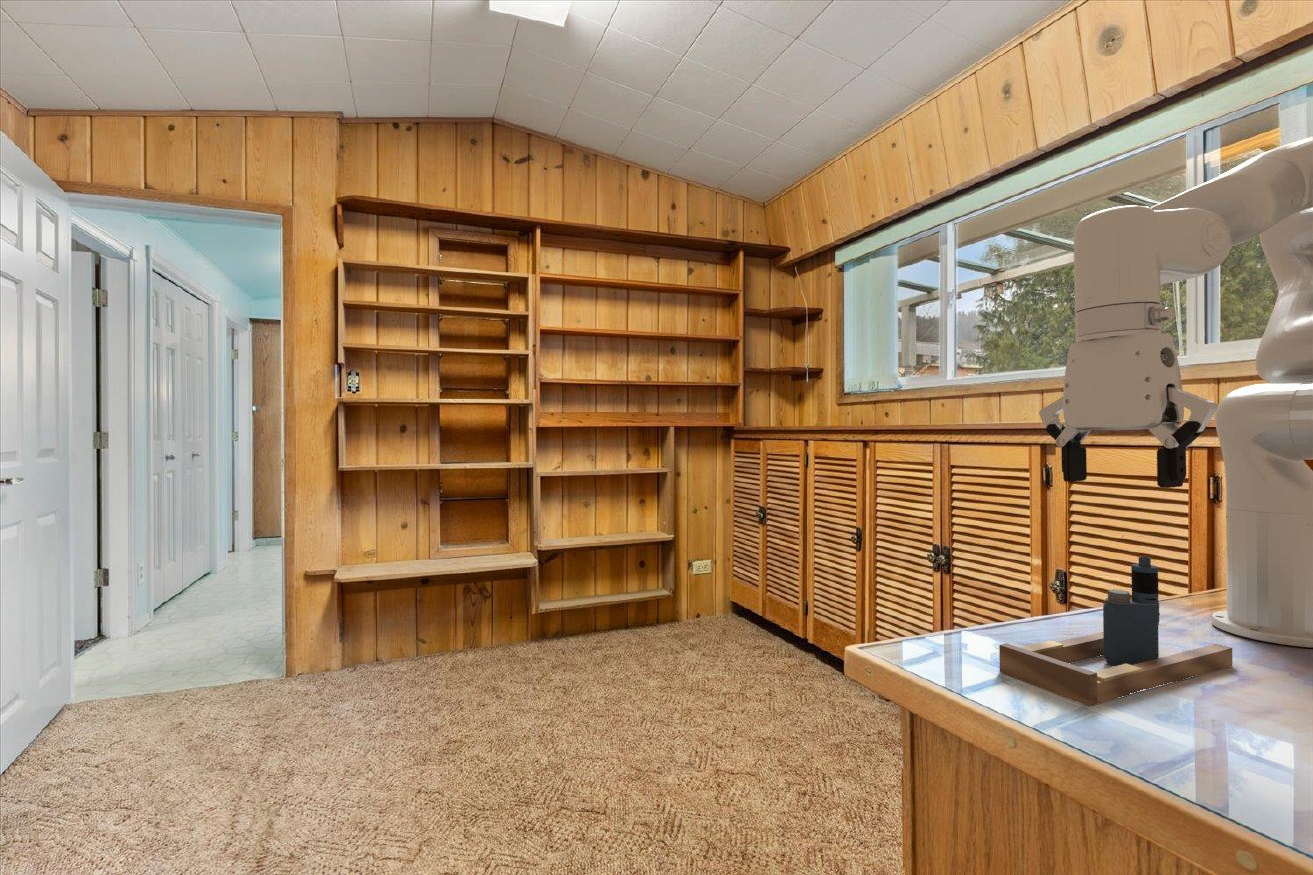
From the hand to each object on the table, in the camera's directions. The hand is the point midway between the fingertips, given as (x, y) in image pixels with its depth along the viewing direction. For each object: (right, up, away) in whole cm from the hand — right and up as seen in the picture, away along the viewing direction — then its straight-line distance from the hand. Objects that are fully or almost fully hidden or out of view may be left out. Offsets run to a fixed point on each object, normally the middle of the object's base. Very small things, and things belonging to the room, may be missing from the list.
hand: (1119, 483), depth 69 cm
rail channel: (0, -20, 0) cm, 20 cm away
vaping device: (+2, -20, +1) cm, 20 cm away
